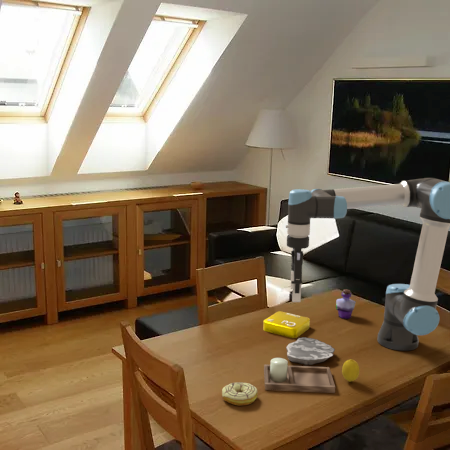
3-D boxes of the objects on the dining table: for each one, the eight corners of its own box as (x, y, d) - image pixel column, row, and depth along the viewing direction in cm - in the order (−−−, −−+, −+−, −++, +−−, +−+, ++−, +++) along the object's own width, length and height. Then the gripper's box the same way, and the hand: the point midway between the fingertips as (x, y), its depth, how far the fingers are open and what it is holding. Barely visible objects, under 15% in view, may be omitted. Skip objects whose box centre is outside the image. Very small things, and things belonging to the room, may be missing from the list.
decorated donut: (228, 388, 184) (228, 377, 184) (260, 394, 181) (261, 383, 180) (217, 403, 175) (217, 392, 174) (251, 410, 171) (252, 398, 171)
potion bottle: (332, 313, 252) (333, 287, 250) (351, 313, 253) (353, 286, 251) (338, 320, 244) (340, 293, 241) (357, 320, 245) (360, 293, 242)
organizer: (328, 372, 196) (329, 367, 196) (334, 392, 183) (335, 387, 182) (264, 369, 197) (264, 364, 197) (265, 389, 183) (265, 384, 183)
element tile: (311, 328, 236) (311, 317, 235) (295, 340, 224) (295, 328, 223) (278, 320, 244) (278, 309, 243) (261, 331, 232) (261, 319, 231)
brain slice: (328, 372, 197) (329, 364, 197) (280, 363, 203) (280, 355, 202) (338, 350, 215) (338, 342, 215) (293, 342, 221) (294, 335, 220)
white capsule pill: (286, 374, 193) (287, 358, 191) (287, 382, 187) (288, 365, 186) (269, 374, 193) (270, 357, 192) (270, 382, 187) (270, 364, 186)
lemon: (358, 386, 187) (360, 363, 185) (341, 384, 188) (342, 361, 186) (358, 379, 192) (360, 356, 191) (341, 377, 193) (342, 354, 192)
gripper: (285, 227, 208) (283, 283, 213) (288, 243, 184) (285, 307, 188) (306, 227, 208) (303, 284, 212) (312, 244, 184) (308, 308, 188)
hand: (295, 295), depth 200 cm, fingers open, 13 cm apart
